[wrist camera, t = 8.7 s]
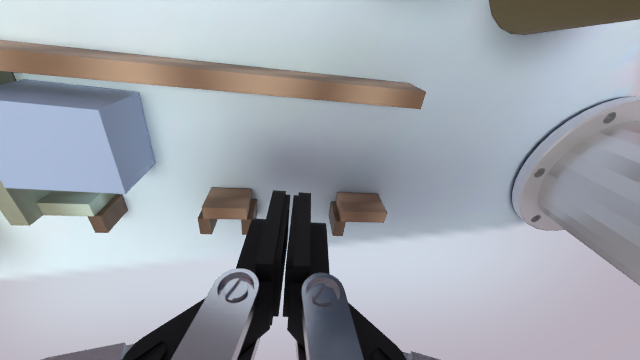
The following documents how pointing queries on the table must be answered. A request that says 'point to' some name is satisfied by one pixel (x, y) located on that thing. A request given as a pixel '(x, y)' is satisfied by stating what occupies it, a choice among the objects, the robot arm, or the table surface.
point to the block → (72, 137)
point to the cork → (560, 14)
